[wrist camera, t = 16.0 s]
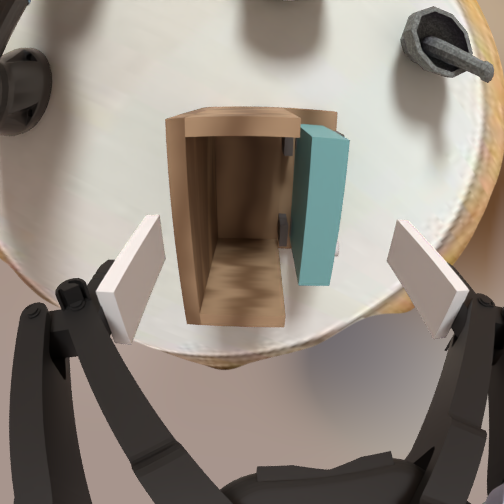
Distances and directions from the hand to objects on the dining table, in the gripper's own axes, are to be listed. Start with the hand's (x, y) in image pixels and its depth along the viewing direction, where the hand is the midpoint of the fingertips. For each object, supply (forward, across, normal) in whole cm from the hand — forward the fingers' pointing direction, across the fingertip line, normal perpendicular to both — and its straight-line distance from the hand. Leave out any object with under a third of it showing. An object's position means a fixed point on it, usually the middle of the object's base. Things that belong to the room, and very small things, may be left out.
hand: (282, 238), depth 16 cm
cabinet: (+26, 0, -5) cm, 27 cm away
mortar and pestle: (+26, +22, +17) cm, 39 cm away
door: (+24, +6, -5) cm, 26 cm away
